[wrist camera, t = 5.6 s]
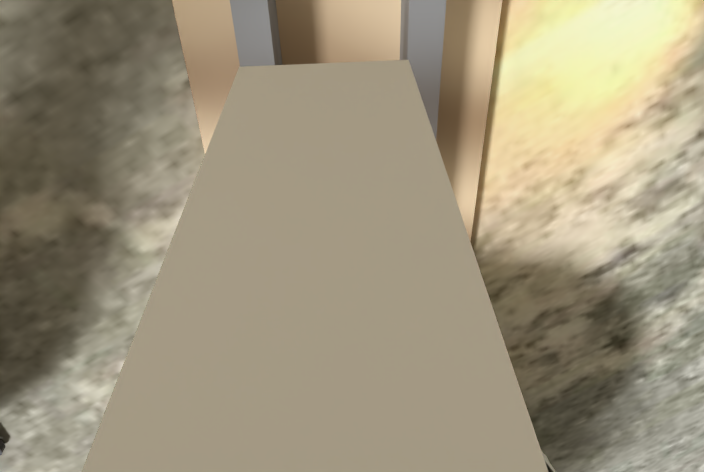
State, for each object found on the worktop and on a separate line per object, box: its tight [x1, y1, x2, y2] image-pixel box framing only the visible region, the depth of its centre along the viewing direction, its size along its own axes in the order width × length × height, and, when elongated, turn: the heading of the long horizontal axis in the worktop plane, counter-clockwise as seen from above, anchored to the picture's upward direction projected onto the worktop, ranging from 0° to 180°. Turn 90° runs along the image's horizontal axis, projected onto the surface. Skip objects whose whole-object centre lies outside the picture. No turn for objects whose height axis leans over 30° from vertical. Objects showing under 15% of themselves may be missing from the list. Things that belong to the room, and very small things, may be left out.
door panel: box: [82, 60, 548, 472], centre depth 8 cm, size 9×3×7 cm, turn 2°
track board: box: [172, 0, 502, 242], centre depth 18 cm, size 20×10×3 cm, turn 2°
